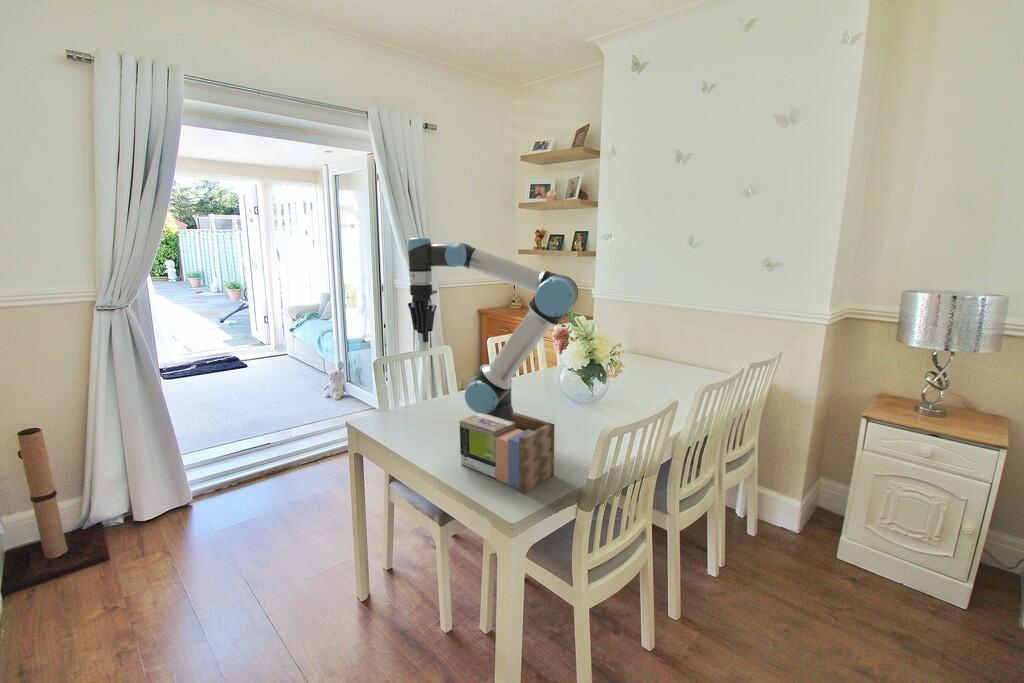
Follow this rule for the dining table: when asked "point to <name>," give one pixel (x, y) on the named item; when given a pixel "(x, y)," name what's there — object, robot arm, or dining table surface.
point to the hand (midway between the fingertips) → (423, 350)
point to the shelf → (534, 451)
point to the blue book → (514, 459)
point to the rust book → (503, 454)
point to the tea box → (481, 441)
